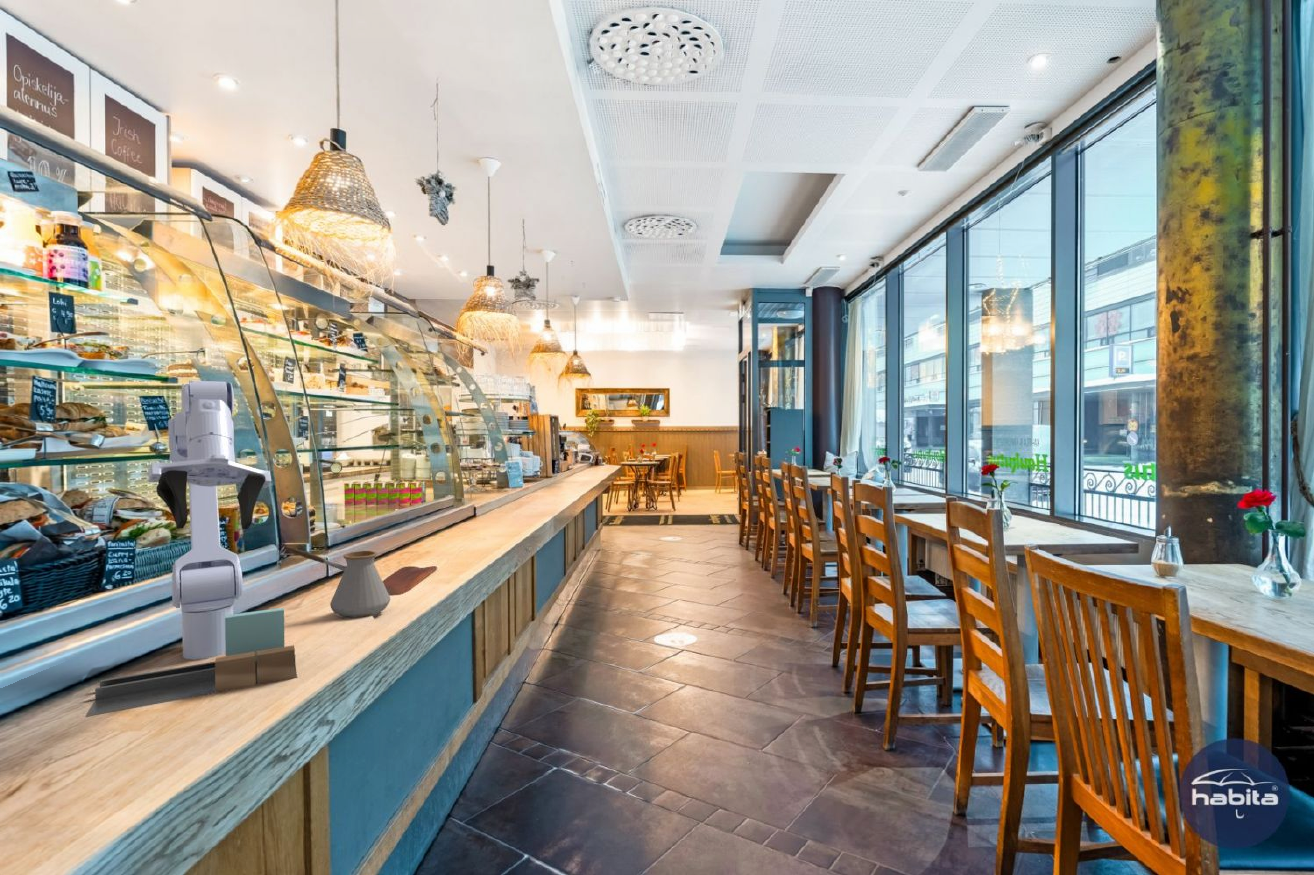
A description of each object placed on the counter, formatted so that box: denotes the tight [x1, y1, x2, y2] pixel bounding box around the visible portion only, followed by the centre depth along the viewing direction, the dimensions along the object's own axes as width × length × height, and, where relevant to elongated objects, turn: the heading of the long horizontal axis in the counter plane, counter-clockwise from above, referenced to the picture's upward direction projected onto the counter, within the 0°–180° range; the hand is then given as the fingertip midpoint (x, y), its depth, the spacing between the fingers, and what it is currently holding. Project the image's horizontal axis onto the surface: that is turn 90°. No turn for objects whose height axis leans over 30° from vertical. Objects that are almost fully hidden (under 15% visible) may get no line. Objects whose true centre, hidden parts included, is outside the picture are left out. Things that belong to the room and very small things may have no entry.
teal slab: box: [225, 607, 285, 661], centre depth 103 cm, size 2×8×9 cm, turn 122°
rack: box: [85, 661, 298, 718], centre depth 97 cm, size 11×25×2 cm, turn 122°
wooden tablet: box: [382, 565, 438, 597], centre depth 161 cm, size 27×10×2 cm, turn 1°
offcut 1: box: [214, 652, 257, 693], centre depth 96 cm, size 2×5×4 cm, turn 122°
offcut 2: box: [256, 644, 296, 686], centre depth 99 cm, size 2×5×4 cm, turn 122°
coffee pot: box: [279, 545, 391, 620], centre depth 133 cm, size 21×12×15 cm, turn 97°
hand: (215, 525), depth 88 cm, fingers open, 7 cm apart
